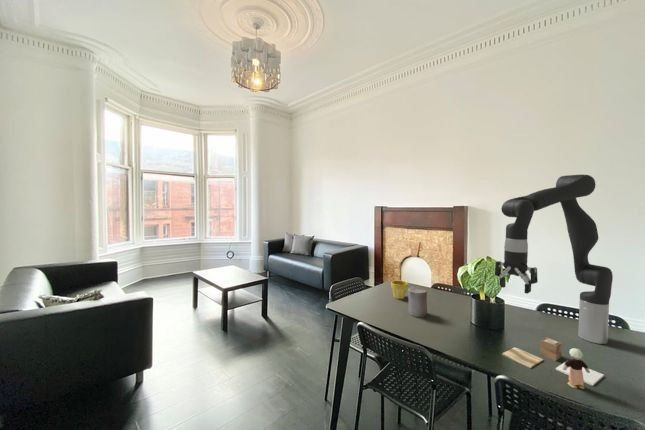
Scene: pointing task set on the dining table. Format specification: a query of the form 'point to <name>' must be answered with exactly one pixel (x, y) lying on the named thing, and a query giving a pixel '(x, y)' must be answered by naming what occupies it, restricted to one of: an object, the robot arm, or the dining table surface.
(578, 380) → the grandmother figurine
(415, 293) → the pillar candle
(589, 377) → the pad
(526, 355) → the pad
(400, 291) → the plant pot
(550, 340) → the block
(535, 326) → the dining table surface
